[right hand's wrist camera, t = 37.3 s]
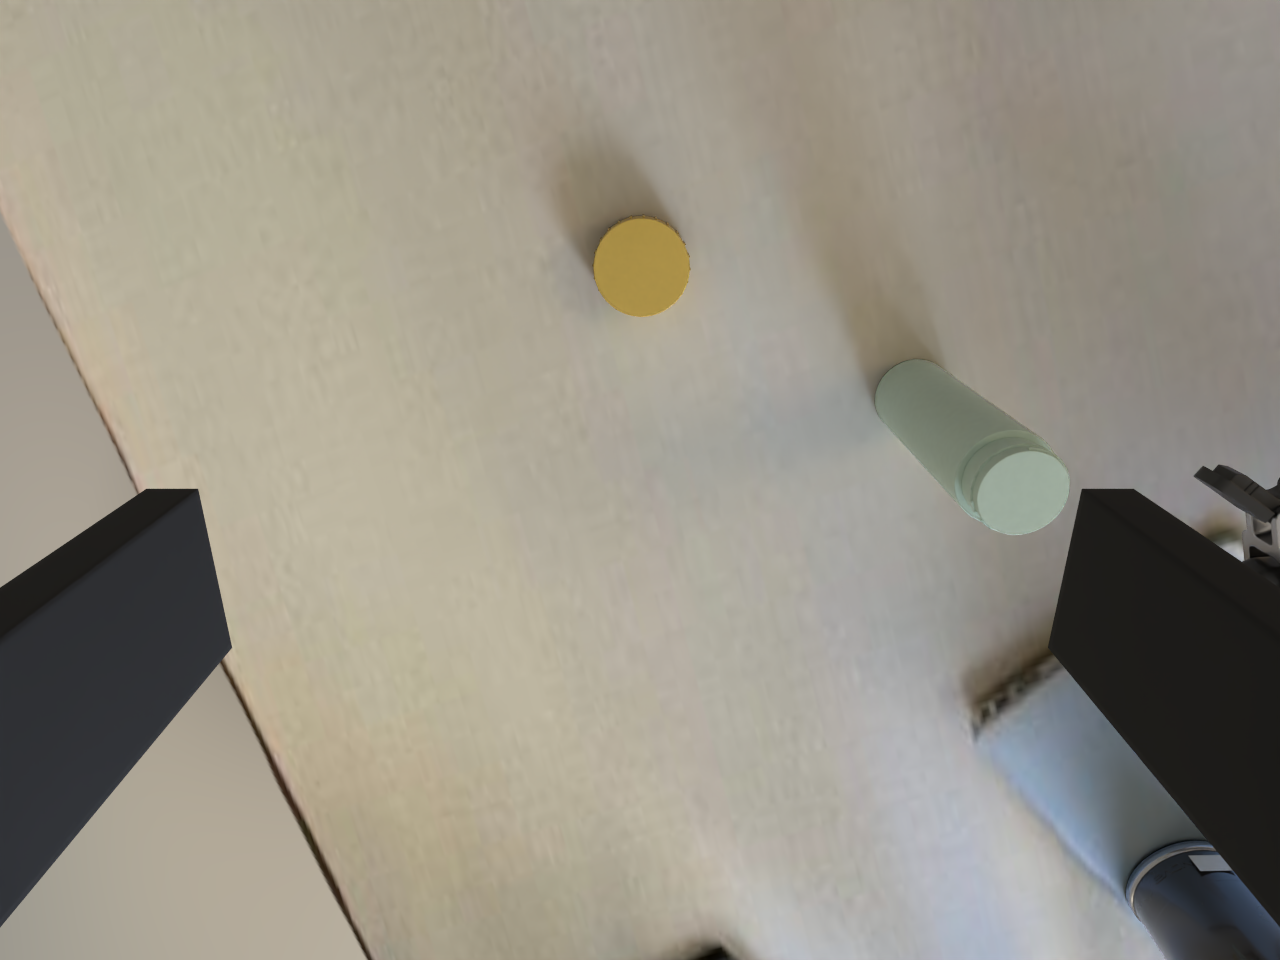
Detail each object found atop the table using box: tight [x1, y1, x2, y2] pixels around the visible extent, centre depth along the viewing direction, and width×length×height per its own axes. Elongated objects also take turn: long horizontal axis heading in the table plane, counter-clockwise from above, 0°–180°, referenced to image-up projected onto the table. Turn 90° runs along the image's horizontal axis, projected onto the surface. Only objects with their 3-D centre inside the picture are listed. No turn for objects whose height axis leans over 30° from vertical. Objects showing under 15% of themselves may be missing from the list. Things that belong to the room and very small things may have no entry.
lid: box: [593, 214, 691, 317], centre depth 49 cm, size 6×6×2 cm
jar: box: [875, 359, 1070, 535], centre depth 46 cm, size 5×5×17 cm
